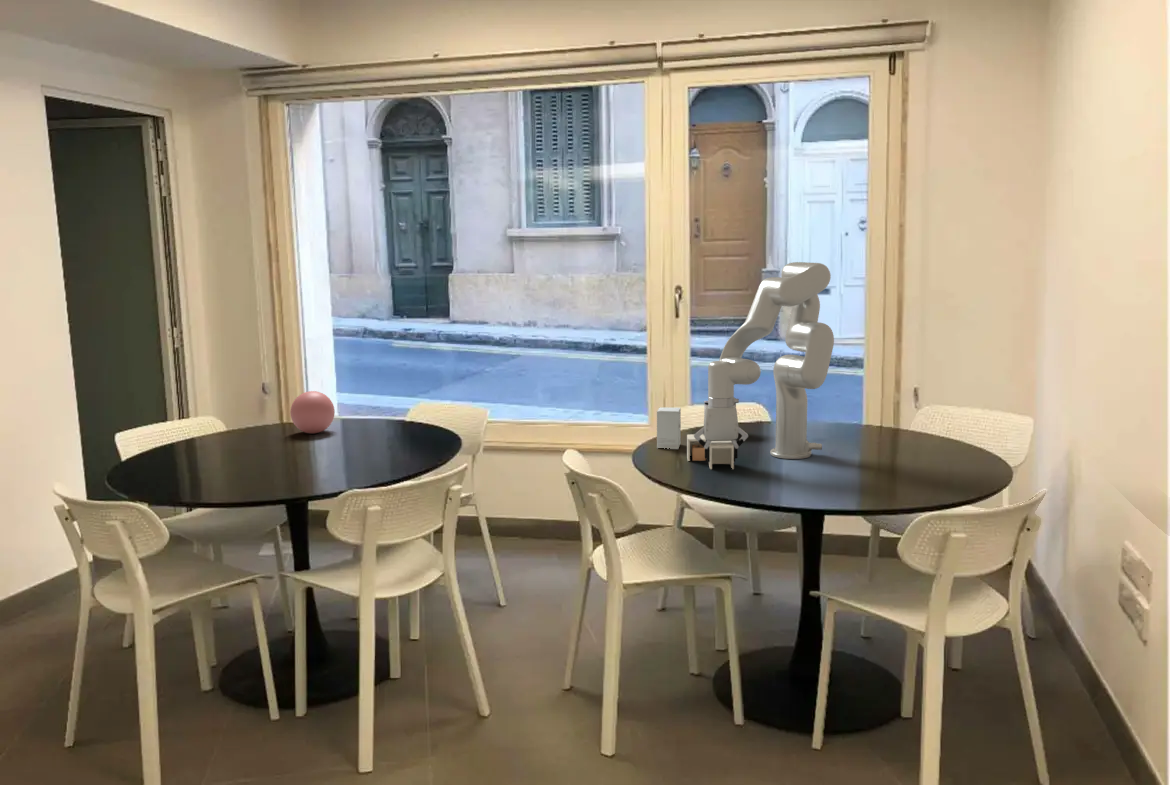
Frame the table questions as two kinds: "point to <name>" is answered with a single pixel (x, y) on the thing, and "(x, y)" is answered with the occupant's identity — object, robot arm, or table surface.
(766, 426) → the table surface
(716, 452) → the plain off-white cube
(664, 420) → the supplement box
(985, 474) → the table surface
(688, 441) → the large plain cream block
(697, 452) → the letter cube
